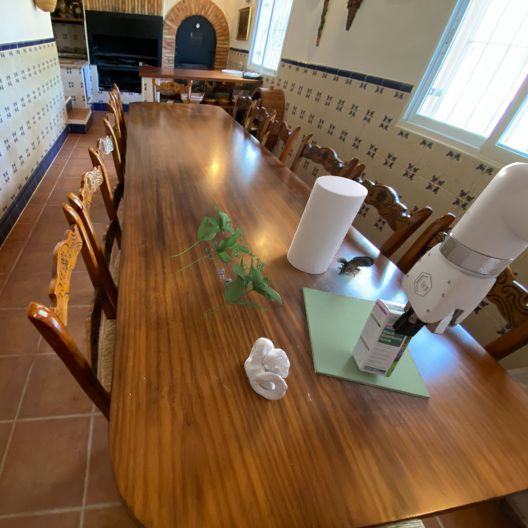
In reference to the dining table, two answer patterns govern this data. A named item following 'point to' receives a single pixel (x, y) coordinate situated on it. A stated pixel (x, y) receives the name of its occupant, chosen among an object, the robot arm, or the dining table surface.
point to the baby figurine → (267, 369)
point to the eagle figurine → (355, 264)
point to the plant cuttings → (236, 286)
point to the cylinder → (325, 223)
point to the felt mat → (351, 343)
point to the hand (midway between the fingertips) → (402, 331)
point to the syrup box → (381, 340)
